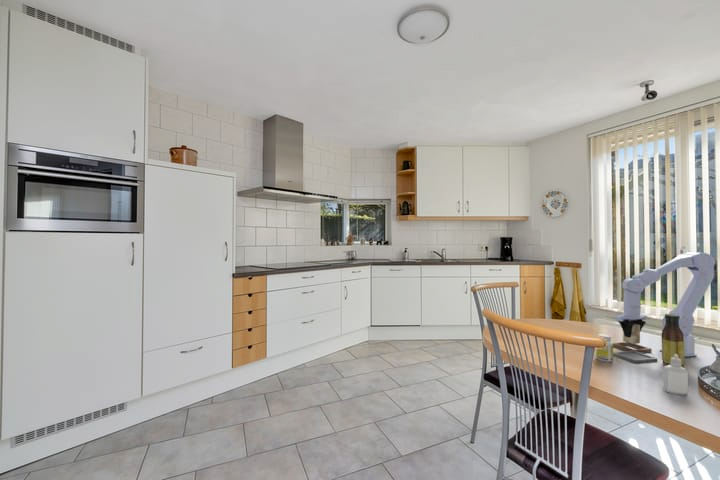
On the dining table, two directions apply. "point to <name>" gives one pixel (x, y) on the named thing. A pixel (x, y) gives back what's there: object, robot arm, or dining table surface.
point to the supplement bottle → (605, 350)
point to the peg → (633, 335)
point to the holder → (640, 348)
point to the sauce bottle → (672, 340)
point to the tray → (635, 356)
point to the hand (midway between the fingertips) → (631, 336)
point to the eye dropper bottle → (675, 377)
